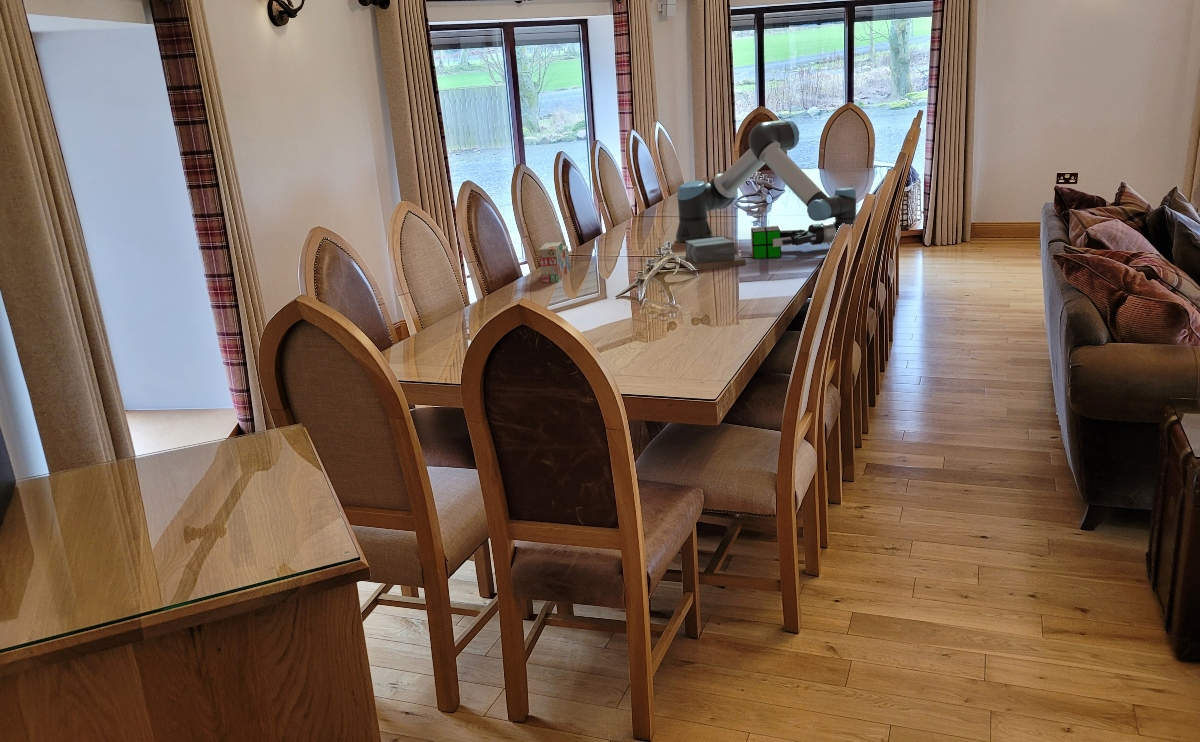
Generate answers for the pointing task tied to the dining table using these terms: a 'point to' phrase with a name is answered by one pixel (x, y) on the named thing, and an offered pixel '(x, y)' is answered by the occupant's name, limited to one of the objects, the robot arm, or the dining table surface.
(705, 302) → the dining table surface
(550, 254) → the stack of blocks
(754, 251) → the puzzle cube
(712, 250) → the tower base
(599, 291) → the dining table surface
